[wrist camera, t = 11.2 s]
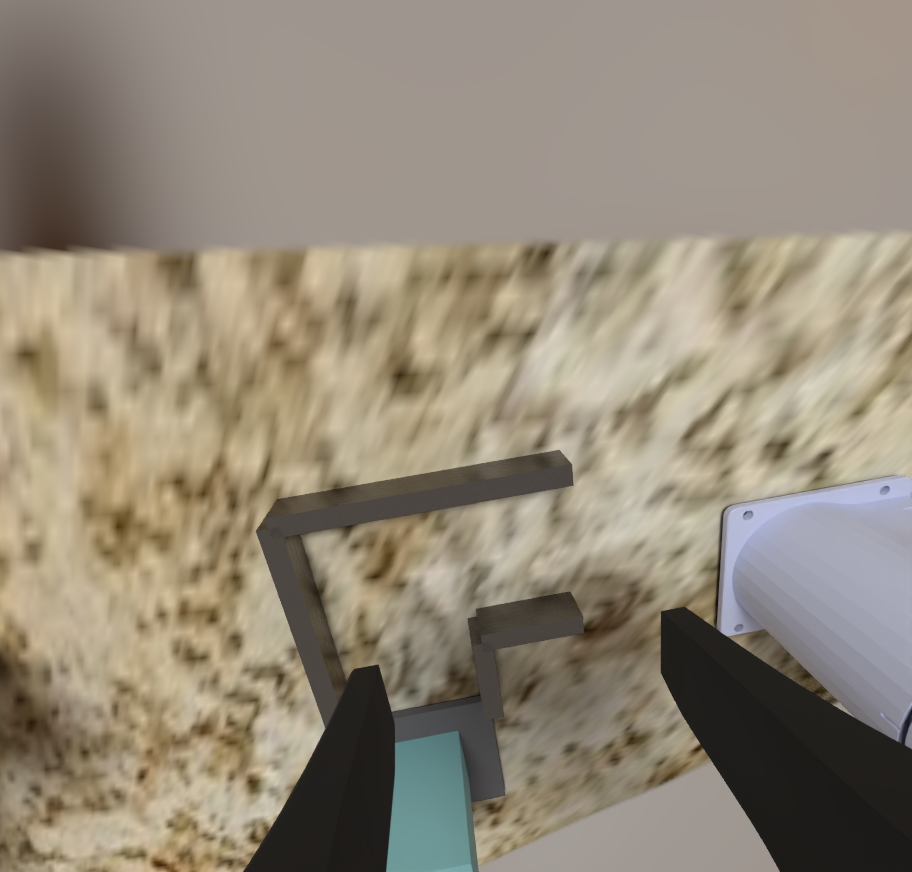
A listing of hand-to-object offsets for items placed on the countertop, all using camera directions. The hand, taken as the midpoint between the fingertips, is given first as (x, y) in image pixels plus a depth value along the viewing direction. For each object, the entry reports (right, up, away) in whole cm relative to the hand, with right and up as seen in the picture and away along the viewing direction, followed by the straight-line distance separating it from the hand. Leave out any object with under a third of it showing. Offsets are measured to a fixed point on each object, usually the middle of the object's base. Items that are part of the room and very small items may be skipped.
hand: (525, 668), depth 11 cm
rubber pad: (-3, -13, +15) cm, 20 cm away
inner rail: (+2, -5, +13) cm, 14 cm away
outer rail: (-3, -2, +11) cm, 12 cm away
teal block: (-3, -13, +14) cm, 20 cm away
